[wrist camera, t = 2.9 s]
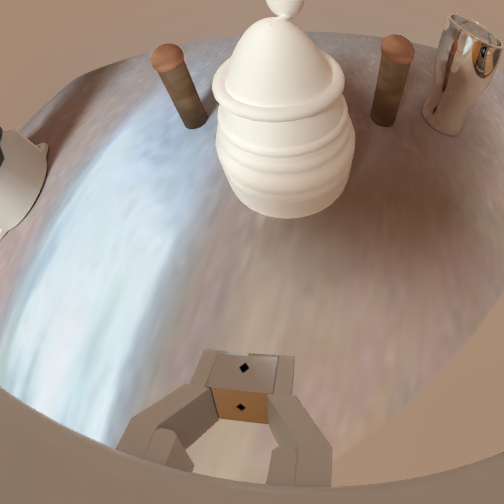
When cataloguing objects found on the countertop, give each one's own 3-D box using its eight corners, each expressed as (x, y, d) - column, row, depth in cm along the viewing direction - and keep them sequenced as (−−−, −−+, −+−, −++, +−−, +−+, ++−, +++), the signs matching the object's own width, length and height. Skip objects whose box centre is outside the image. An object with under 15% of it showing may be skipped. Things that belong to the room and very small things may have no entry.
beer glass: (416, 95, 30) (440, 5, 16) (460, 110, 29) (493, 28, 15) (420, 129, 28) (455, 29, 14) (467, 145, 27) (514, 58, 13)
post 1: (178, 128, 34) (140, 57, 22) (190, 110, 34) (158, 39, 23) (201, 131, 33) (166, 54, 22) (213, 112, 34) (183, 36, 22)
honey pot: (272, 107, 32) (248, -26, 16) (369, 151, 28) (399, 2, 12) (203, 181, 30) (126, 42, 13) (307, 244, 26) (309, 79, 9)
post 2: (367, 122, 30) (382, 38, 18) (370, 105, 31) (383, 25, 19) (394, 131, 29) (418, 49, 18) (396, 113, 30) (416, 35, 18)
